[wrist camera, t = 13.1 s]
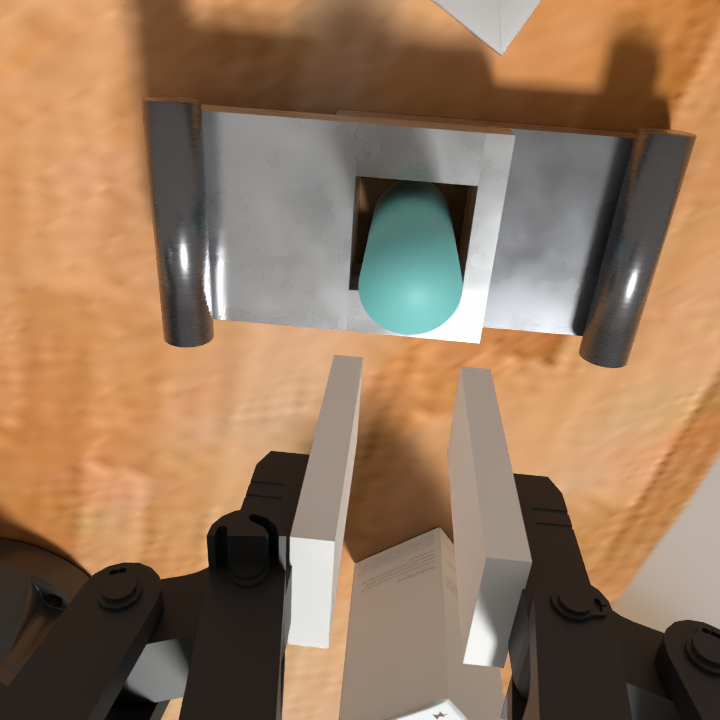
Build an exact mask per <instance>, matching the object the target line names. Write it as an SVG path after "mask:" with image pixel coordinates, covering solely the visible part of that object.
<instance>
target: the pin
mask: <svg viewBox="0 0 720 720" xmlns="http://www.w3.org/2000/svg"><path fill="white" fill-rule="evenodd" d="M462 290H463V282H462V275H461V270H460V264H459V259H458V253H457V247H456V242H455V236H454V231H453V225H452V220H451V214H450V209H449V205H448V202H447V200H446V198H445V196H444V195H443V193H442V192H441V191H440V190H439V189H438V188H437V187H436V186H435V185H433V184H431V183H430V182H423V181H411V180H400V181H398V182H395V183H393V184H392V185H390V186H389V187H388V188H386V189H385V190H384V191H383V193H382V194H381V195H380V197H379V198H378V200H377V203H376V205H375V209H374V213H373V218H372V222H371V227H370V231H369V236H368V240H367V245H366V249H365V254H364V258H363V263H362V268H361V272H360V277H359V296H360V300H361V303H362V305H363V307H364V309H365V311H366V312H367V314H368V315H369V316H370V318H371V319H372V320H373V321H374V322H376V323H377V324H378V325H380V326H381V327H383V328H385V329H386V330H389V331H391V332H394V333H398V334H404V335H416V334H422V333H426V332H429V331H432V330H434V329H436V328H438V327H439V326H441V325H443V324H444V323H445V322H446V321H447V320H448V319H449V318H450V317H451V316H452V315H453V313H454V312H455V311H456V309H457V307H458V305H459V303H460V300H461V296H462Z"/></svg>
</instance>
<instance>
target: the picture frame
mask: <svg viewBox="0 0 720 720" xmlns="http://www.w3.org/2000/svg"><path fill="white" fill-rule="evenodd" d="M431 1H433V2H434V3H435V4H436V5H438V6H439V7H440V8H441V9H442V10H444V11H445V12H446V13H447V14H449V15H450V16H451V17H452V18H454V19H455V20H456V21H457V22H458V23H460V24H461V25H462V26H463V27H465V28H466V29H467V30H468V31H470V32H471V33H472V34H473V35H475V36H476V37H477V38H478V39H479V40H481V41H482V42H483V43H484V44H486V45H487V46H488V47H489V48H491V49H492V50H493V51H494V52H495V53H497V54H499V55H501V56H502V54H503V53H504V52H505V50H506V49H507V47H508V46H509V45H510V43H511V42H512V41H513V39H514V38H515V36H516V35H517V34H518V32H519V31H520V29H521V28H522V27H523V25H524V24H525V23H526V21H527V20H528V18H529V17H530V16H531V14H532V13H533V11H534V10H535V9H536V7H537V6H538V5H539V3H540V2H541V0H431Z"/></svg>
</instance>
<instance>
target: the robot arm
mask: <svg viewBox="0 0 720 720" xmlns="http://www.w3.org/2000/svg"><path fill="white" fill-rule="evenodd" d="M362 367H363V358H362V357H351V356H341V355H334V358H333V362H332V366H331V370H330V374H329V378H328V382H327V386H326V391H325V395H324V399H323V403H322V407H321V411H320V415H319V419H318V424H317V428H316V432H315V436H314V440H313V444H312V448H311V452H310V455H306V454H296V453H286V452H276V451H270V452H269V453H268V454H267V455H266V456H265V457H264V458H263V459H262V460H261V461H260V462H259V463H258V464H257V465H256V468H255V471H254V473H253V476H252V479H251V484H250V485H249V487H248V490H247V493H246V498H245V499H244V501H243V504H242V507H241V510H237V511H234V512H231V513H229V514H226V515H224V516H222V517H221V518H220V519H218V520H217V521H216V522H215V523H214V524H212V526H211V528H210V530H209V532H208V534H207V547H208V562H209V567H208V568H206V569H203V570H201V571H199V572H197V573H193V574H189V575H185V576H179V577H173V578H167V579H160V577H159V576H158V574H157V573H156V572H155V571H154V570H153V569H152V568H151V567H148V566H146V565H143V564H141V563H125V562H124V563H120V564H116V565H112V566H108V567H106V568H105V569H103V570H101V571H99V572H97V573H95V574H94V575H93V576H92V577H91V578H89V577H88V576H87V575H86V574H84V573H83V572H82V571H81V570H79V569H78V568H77V567H75V566H74V565H72V564H71V563H69V562H68V561H66V560H64V559H62V558H61V557H59V556H57V555H55V554H53V553H51V552H48V551H46V550H43V549H41V548H38V547H35V546H32V545H29V544H26V543H22V542H17V541H12V540H5V539H0V720H161V718H162V716H163V714H164V712H165V710H166V708H167V705H168V703H169V701H170V699H175V698H179V697H183V702H182V707H181V711H180V716H179V720H282V706H283V689H284V672H285V649H286V644H287V639H288V634H289V641H288V644H292V645H301V646H310V647H319V648H328V647H329V640H330V633H331V626H332V618H333V611H334V604H335V597H336V589H337V582H338V575H339V568H340V561H341V553H342V546H343V539H344V532H345V524H346V517H347V510H348V503H349V495H350V488H351V481H352V474H353V467H354V459H355V452H356V445H357V433H358V420H359V407H360V393H361V380H362ZM447 456H448V469H449V483H450V496H451V510H452V523H453V536H454V550H455V563H456V576H457V590H458V603H459V617H460V630H461V643H462V657H463V663H464V664H473V665H482V666H491V667H500V668H504V665H505V661H506V658H507V654H508V650H509V655H510V662H511V669H512V676H511V680H510V683H509V687H508V690H507V694H506V697H505V701H504V704H503V708H502V712H501V717H500V719H503V720H506V719H507V720H720V630H719V629H717V628H715V627H713V626H711V625H708V624H706V623H704V622H698V621H692V620H683V621H678V622H674V623H673V624H672V625H671V626H669V627H668V628H667V629H666V631H665V633H662V632H660V631H657V630H654V629H651V628H649V627H646V626H643V625H641V624H638V623H635V622H633V621H631V620H628V619H626V618H624V617H622V616H620V615H619V614H617V613H616V612H614V611H613V610H612V608H611V606H610V604H609V601H608V600H607V599H606V598H605V597H604V596H603V594H602V593H601V592H600V591H599V590H598V589H596V588H595V587H593V586H592V585H591V584H590V582H589V578H588V575H587V572H586V569H585V565H584V562H583V559H582V556H581V553H580V549H579V546H578V543H577V540H576V537H575V533H574V530H573V529H572V524H571V521H570V517H569V515H567V512H568V511H567V508H566V505H565V501H564V498H563V495H562V493H561V492H560V491H559V489H558V488H557V487H556V486H555V485H554V484H553V482H552V481H551V480H550V479H549V478H548V477H544V476H533V475H523V474H513V471H512V467H511V462H510V457H509V453H508V448H507V443H506V439H505V434H504V430H503V425H502V420H501V416H500V411H499V407H498V402H497V397H496V393H495V388H494V384H493V379H492V374H491V370H490V369H480V368H470V367H461V370H460V376H459V382H458V388H457V394H456V401H455V407H454V413H453V419H452V425H451V432H450V438H449V444H448V450H447Z"/></svg>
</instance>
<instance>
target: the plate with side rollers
mask: <svg viewBox="0 0 720 720" xmlns="http://www.w3.org/2000/svg"><path fill="white" fill-rule="evenodd" d="M141 101H142V112H143V122H144V133H145V143H146V154H147V164H148V175H149V185H150V196H151V206H152V217H153V227H154V238H155V248H156V259H157V269H158V280H159V290H160V301H161V311H162V322H163V332H164V340H165V341H166V342H167V343H168V344H170V345H173V346H177V347H196V346H201V345H204V344H206V343H208V342H210V341H211V340H212V339H213V337H214V331H213V319H221V320H232V321H243V322H254V323H265V324H275V325H286V326H297V327H308V328H319V329H330V330H341V331H352V332H363V333H374V334H385V335H396V336H406V337H417V338H428V339H439V340H450V341H461V342H472V343H480V337H481V331H482V327H489V328H500V329H511V330H522V331H534V332H545V333H556V334H567V335H578V336H583V338H582V342H581V345H580V349H579V354H580V356H581V357H582V358H583V359H585V360H586V361H588V362H590V363H592V364H595V365H598V366H602V367H608V368H619V367H623V366H625V365H626V364H627V362H628V359H629V356H630V352H631V349H632V346H633V343H634V339H635V336H636V333H637V329H638V326H639V323H640V320H641V316H642V313H643V310H644V307H645V303H646V300H647V297H648V293H649V290H650V287H651V284H652V280H653V277H654V274H655V271H656V267H657V264H658V261H659V257H660V254H661V251H662V248H663V244H664V241H665V238H666V235H667V231H668V228H669V225H670V221H671V218H672V215H673V212H674V208H675V205H676V202H677V199H678V195H679V192H680V189H681V185H682V182H683V179H684V176H685V172H686V169H687V166H688V162H689V159H690V156H691V153H692V149H693V146H694V143H695V140H696V135H695V134H691V133H687V132H683V131H677V130H670V129H661V128H637V131H636V133H634V132H622V131H609V130H596V129H583V128H571V127H558V126H545V125H532V124H520V123H507V122H494V121H481V120H469V119H456V118H443V117H430V116H418V115H405V114H392V113H379V112H367V111H354V110H341V109H339V111H338V112H337V113H336V114H335V115H333V114H320V113H307V112H294V111H282V110H269V109H256V108H244V107H231V106H218V105H206V104H202V103H201V100H199V99H196V98H189V97H179V96H149V97H143V98H141ZM361 176H363V177H375V178H387V179H399V180H411V181H423V182H435V183H448V184H460V185H469V186H468V193H467V200H466V207H465V213H464V220H463V227H462V234H461V241H460V248H459V255H458V259H459V264H460V270H461V275H462V282H463V290H462V296H461V300H460V303H459V305H458V307H457V309H456V311H455V312H454V313H453V315H452V316H451V317H450V318H449V319H448V320H447V321H446V322H445V323H444V324H443V325H441V326H439V327H438V328H436V329H434V330H432V331H429V332H426V333H422V334H416V335H404V334H398V333H394V332H391V331H389V330H386V329H385V328H383V327H381V326H380V325H378V324H377V323H376V322H374V321H373V320H372V319H371V318H370V316H369V315H368V314H367V312H366V311H365V309H364V307H363V305H362V303H361V300H360V296H359V277H360V272H361V268H362V263H357V262H356V246H357V230H358V214H359V199H360V183H361Z"/></svg>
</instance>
